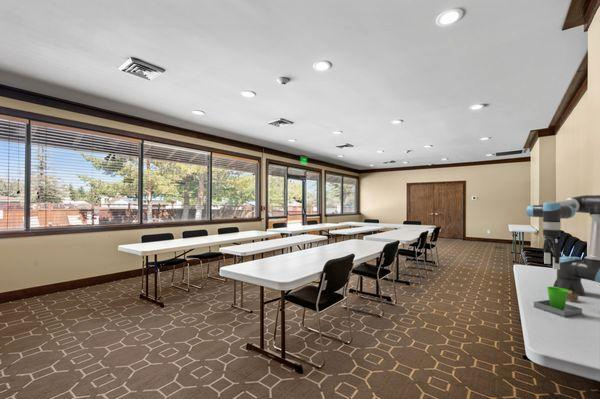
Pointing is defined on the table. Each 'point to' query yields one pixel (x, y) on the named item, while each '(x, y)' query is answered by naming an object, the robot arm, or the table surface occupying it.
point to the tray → (566, 312)
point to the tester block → (572, 297)
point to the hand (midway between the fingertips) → (551, 266)
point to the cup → (557, 297)
